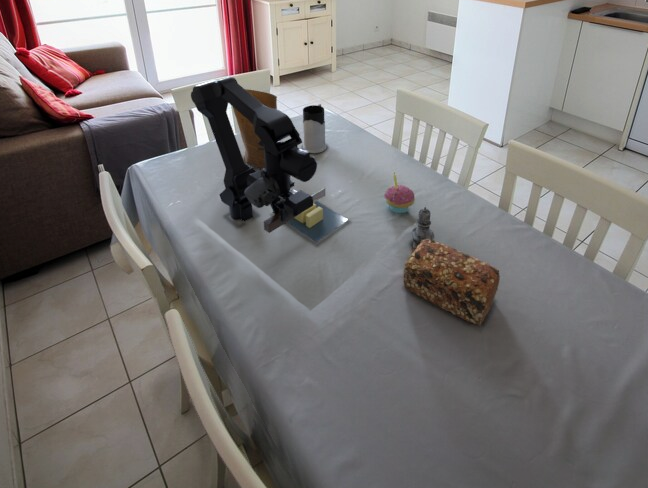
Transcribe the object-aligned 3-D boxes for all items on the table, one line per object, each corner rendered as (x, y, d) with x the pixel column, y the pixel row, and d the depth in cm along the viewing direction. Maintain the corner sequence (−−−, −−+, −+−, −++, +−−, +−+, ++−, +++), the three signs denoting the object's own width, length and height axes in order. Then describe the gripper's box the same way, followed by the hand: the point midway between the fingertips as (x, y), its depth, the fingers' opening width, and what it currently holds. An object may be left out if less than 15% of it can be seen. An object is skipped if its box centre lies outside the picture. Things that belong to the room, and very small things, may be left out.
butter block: (283, 211, 120) (282, 200, 119) (297, 203, 124) (296, 192, 123) (302, 223, 116) (302, 213, 114) (316, 214, 119) (316, 204, 118)
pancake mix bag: (274, 178, 137) (268, 97, 126) (232, 161, 146) (224, 84, 136) (288, 168, 142) (284, 90, 132) (247, 152, 152) (240, 78, 141)
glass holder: (299, 151, 153) (297, 113, 147) (310, 133, 166) (309, 97, 160) (323, 154, 151) (322, 115, 146) (332, 135, 164) (332, 99, 159)
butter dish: (272, 215, 120) (272, 212, 120) (304, 196, 129) (303, 193, 128) (316, 245, 109) (316, 242, 109) (348, 222, 118) (348, 219, 117)
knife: (264, 229, 105) (263, 221, 104) (322, 194, 119) (322, 186, 118) (269, 233, 104) (268, 225, 103) (327, 196, 118) (327, 189, 117)
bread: (497, 298, 95) (503, 263, 91) (479, 333, 87) (485, 296, 83) (422, 261, 105) (425, 228, 101) (400, 289, 97) (402, 254, 93)
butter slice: (305, 225, 115) (305, 214, 114) (319, 216, 118) (319, 206, 117) (309, 228, 114) (309, 217, 113) (323, 219, 117) (322, 208, 116)
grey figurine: (432, 255, 107) (436, 215, 102) (409, 251, 108) (412, 212, 103) (433, 239, 112) (437, 201, 108) (411, 236, 113) (414, 198, 109)
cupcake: (380, 214, 121) (381, 178, 117) (389, 197, 129) (391, 163, 124) (409, 222, 118) (412, 185, 114) (417, 204, 126) (420, 169, 121)
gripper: (225, 164, 101) (231, 217, 107) (275, 196, 90) (279, 254, 96) (263, 147, 109) (267, 198, 115) (314, 174, 98) (315, 229, 104)
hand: (280, 218), depth 107 cm, fingers closed on knife, 2 cm apart
